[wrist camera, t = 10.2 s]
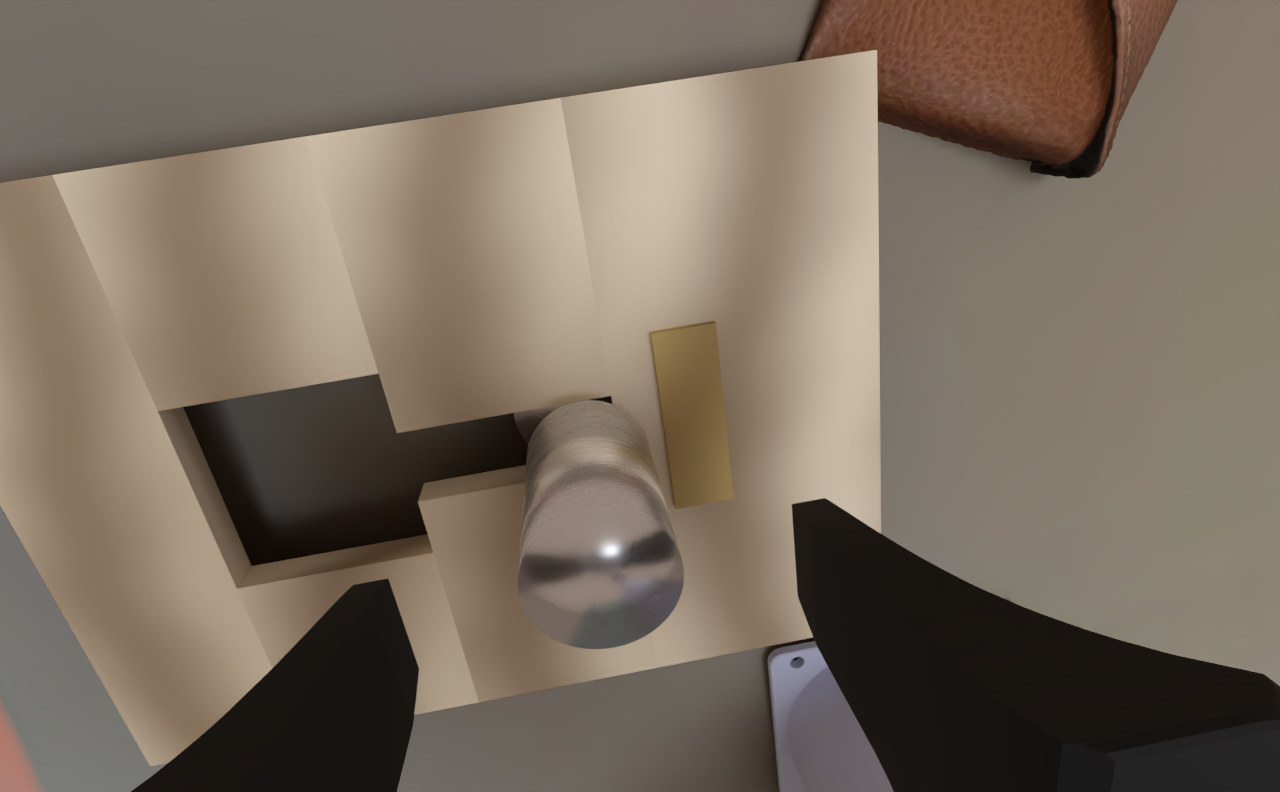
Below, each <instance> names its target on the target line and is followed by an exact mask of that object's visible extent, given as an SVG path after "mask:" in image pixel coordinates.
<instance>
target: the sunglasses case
mask: <svg viewBox="0 0 1280 792" xmlns="http://www.w3.org/2000/svg"><path fill="white" fill-rule="evenodd" d="M1176 3H1177V0H824V1H823V4H822V7H821V9H820V12H819V14H818V17H817V19H816V22H815V24H814V27H813V30H812V32H811V34H810V35H809V37H808V38H807V41H806V44H805V46H804V49H803V51H802V54H801V56H800V59H799V61H798V62H800V61H806V60H813V59H819V58H826V57H833V56H839V55H846V54H852V53H859V52H866V51H872V50H877V95H878V121H879V122H884V123H886V124H891V125H893V126H898V127H900V128H902V129H907V130H911V131H914V132H919V133H923V134H925V135H928V136H931V137H938V138H940V139H942V140H944V141H950V142H952V143H958V144H961V145H963V146H965V147H971V148H975V149H977V150H982V151H988V152H992V153H993V154H996V155H998V156H1003V157H1007V158H1012V159H1022V160H1028V161H1032V165H1031V167H1030V171H1031V172H1034V173H1041V174H1046V175H1052V176H1064V177H1066V178H1082V177H1087V178H1088V177H1091V176H1092V175H1095V174H1096V173H1097V172H1099V171H1100V170H1101V168H1102V167H1103V165H1104V162H1105V161H1106V158H1107V157H1108V156H1109V152H1110V150H1111V148H1112V144H1113V139H1114V138H1115V135H1116V130H1117V127H1118V125H1119V122H1120V120H1121V118H1122V116H1123V114H1124V111H1125V109H1126V107H1127V105H1128V103H1129V100H1130V98H1131V96H1132V94H1133V92H1134V90H1135V88H1136V86H1137V84H1138V81H1139V80H1140V78H1141V76H1142V74H1143V71H1144V69H1145V67H1146V65H1147V64H1148V62H1149V60H1150V57H1151V56H1152V54H1153V51H1154V49H1155V47H1156V44H1157V42H1158V40H1159V38H1160V36H1161V34H1162V32H1163V30H1164V28H1165V26H1166V24H1167V22H1168V20H1169V18H1170V16H1171V13H1172V11H1173V9H1174V7H1175V5H1176Z"/></svg>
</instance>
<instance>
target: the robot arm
mask: <svg viewBox="0 0 1280 792" xmlns="http://www.w3.org/2000/svg"><path fill="white" fill-rule="evenodd" d="M792 517H793V532H794V547H795V562H796V578H797V593H798V598H799V601H800V604H801V606H802V609H803V612H804V614H805V617H806V620H807V622H808V625H809V627H810V630H811V632H812V635H813V637H814V640H815V641H812V642H807V643H802V644H797V645H791V646H786V647H781V648H778V649H775V650H774V651H772V652H771V653H770V655H769V656H768V661H767V662H768V673H769V684H770V695H771V706H772V717H773V728H774V740H775V751H776V762H777V773H778V784H779V792H1280V686H1279V685H1277V684H1276V683H1275V682H1273V681H1272V680H1271V679H1269V678H1268V677H1267V676H1265V675H1264V674H1260V673H1256V672H1251V671H1246V670H1242V669H1237V668H1232V667H1227V666H1223V665H1218V664H1213V663H1209V662H1204V661H1199V660H1195V659H1190V658H1185V657H1181V656H1176V655H1172V654H1168V653H1164V652H1161V651H1157V650H1153V649H1150V648H1146V647H1142V646H1139V645H1135V644H1131V643H1128V642H1124V641H1120V640H1117V639H1114V638H1111V637H1107V636H1104V635H1101V634H1098V633H1094V632H1091V631H1088V630H1085V629H1082V628H1079V627H1076V626H1073V625H1071V624H1068V623H1065V622H1062V621H1059V620H1056V619H1054V618H1051V617H1048V616H1045V615H1042V614H1040V613H1037V612H1035V611H1032V610H1029V609H1027V608H1024V607H1022V606H1019V605H1017V604H1015V603H1012V602H1010V601H1008V600H1005V599H1003V598H1001V597H999V596H996V595H994V594H992V593H989V592H987V591H985V590H982V589H980V588H978V587H976V586H974V585H972V584H970V583H968V582H966V581H964V580H962V579H960V578H958V577H956V576H954V575H952V574H950V573H948V572H946V571H944V570H943V569H941V568H939V567H937V566H935V565H933V564H931V563H929V562H928V561H926V560H924V559H922V558H920V557H919V556H917V555H915V554H913V553H912V552H910V551H908V550H907V549H905V548H903V547H902V546H900V545H898V544H897V543H895V542H893V541H892V540H890V539H888V538H887V537H885V536H884V535H882V534H880V533H879V532H877V531H876V530H874V529H873V528H871V527H869V526H868V525H866V524H865V523H863V522H862V521H860V520H859V519H857V518H855V517H854V516H852V515H851V514H849V513H848V512H846V511H845V510H843V509H842V508H840V507H839V506H837V505H835V504H834V503H832V502H831V501H829V500H827V499H826V498H823V499H817V500H812V501H806V502H801V503H795V504H792ZM796 657H799V658H798V659H797V660H792V659H793V658H796ZM418 674H419V667H418V664H417V661H416V658H415V655H414V652H413V650H412V647H411V644H410V641H409V638H408V635H407V632H406V629H405V626H404V623H403V620H402V617H401V614H400V611H399V608H398V606H397V603H396V600H395V597H394V594H393V591H392V588H391V585H390V582H389V579H383V580H377V581H372V582H366V583H361V584H355V585H353V586H352V587H350V588H349V589H348V590H347V591H346V592H345V593H344V594H343V595H342V596H341V597H340V598H339V599H338V600H337V601H336V602H335V603H334V604H333V605H332V606H331V608H330V609H329V610H328V611H327V612H326V613H325V614H324V615H323V616H322V617H321V618H320V619H319V620H318V621H317V622H316V623H315V624H314V626H313V627H312V628H311V629H310V630H309V631H308V632H307V633H306V634H305V635H304V636H303V637H302V638H301V639H300V640H299V641H298V642H297V643H296V644H295V646H294V647H293V648H292V649H291V650H290V651H289V652H288V653H287V654H286V655H285V656H284V657H283V658H282V659H281V660H280V661H279V662H278V663H277V664H276V665H275V666H274V667H273V668H272V669H271V670H270V671H269V672H268V673H267V674H266V675H265V676H264V677H263V678H262V679H261V680H260V681H259V682H258V683H257V684H256V685H255V686H254V687H253V688H252V689H251V690H250V691H249V692H248V693H247V694H246V695H244V696H243V697H242V698H241V699H240V700H239V701H238V702H237V703H236V704H235V705H234V706H233V707H232V708H231V709H230V710H229V711H228V712H227V713H226V714H225V715H224V716H223V717H221V718H220V719H219V720H218V721H217V722H216V723H215V724H214V725H213V726H212V727H210V728H209V729H208V730H207V731H206V732H205V733H204V734H202V735H201V736H200V737H199V738H198V739H197V740H196V741H194V742H193V743H192V744H191V745H189V746H188V747H187V748H186V749H185V750H183V751H182V752H181V753H180V754H179V755H177V756H176V757H175V758H174V759H173V760H171V761H170V762H169V763H168V764H167V765H165V766H164V767H163V768H162V769H160V770H159V771H158V772H157V773H155V774H154V775H153V776H152V777H150V778H149V779H148V780H146V781H145V782H144V783H142V784H141V785H139V786H138V787H137V788H135V789H134V790H133V791H131V792H397V788H398V784H399V780H400V776H401V772H402V768H403V764H404V760H405V755H406V751H407V747H408V743H409V739H410V735H411V730H412V726H413V719H414V711H415V703H416V694H417V684H418Z"/></svg>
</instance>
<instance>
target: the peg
mask: <svg viewBox="0 0 1280 792" xmlns="http://www.w3.org/2000/svg"><path fill="white" fill-rule="evenodd" d="M514 419H515V422H516V426H517V428H518V430H519V432H520V434H521V436H522V437H523V439H524V440H525V442H526V443H527V444H528V450H527V460H526V474H525V488H524V502H523V515H522V529H521V543H520V556H519V570H518V594H519V599H520V602H521V605H522V607H523V609H524V611H525V613H526V615H527V616H528V618H529V619H530V621H531V622H532V623H533V624H534V625H535V626H536V627H537V628H538V629H539V630H540V631H542V632H543V633H544V634H545V635H547V636H549V637H550V638H552V639H554V640H556V641H558V642H561V643H563V644H566V645H569V646H573V647H578V648H583V649H607V648H614V647H618V646H623V645H626V644H629V643H632V642H634V641H636V640H639V639H641V638H643V637H644V636H646V635H648V634H649V633H651V632H652V631H654V630H655V629H656V628H658V627H659V626H660V625H661V624H662V623H663V622H664V621H665V620H666V619H667V618H668V617H669V615H670V614H671V613H672V612H673V610H674V608H675V606H676V605H677V603H678V601H679V598H680V596H681V593H682V589H683V583H684V567H683V563H682V558H681V555H680V551H679V548H678V544H677V541H676V537H675V534H674V530H673V527H672V523H671V520H670V516H669V513H668V509H667V506H666V502H665V499H664V495H663V492H662V488H661V485H660V481H659V478H658V474H657V471H656V467H655V464H654V460H653V457H652V453H651V450H650V446H649V443H648V439H647V437H646V434H645V432H644V430H643V428H642V426H641V425H640V424H639V422H638V421H637V420H636V419H635V418H634V417H633V416H632V415H631V414H629V413H628V412H627V411H625V410H624V409H622V408H620V407H618V406H616V405H613V404H612V400H611V396H608V397H602V398H596V399H590V400H585V401H578V402H573V403H567V404H562V405H556V406H550V407H544V408H539V409H533V410H527V411H521V412H516V413H514Z"/></svg>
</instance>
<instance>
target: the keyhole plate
mask: <svg viewBox="0 0 1280 792" xmlns="http://www.w3.org/2000/svg"><path fill="white" fill-rule="evenodd" d="M374 374H379V376H380V380H381V383H382V386H383V390H384V393H385V396H386V399H387V403H388V406H389V409H390V412H391V416H392V419H393V422H394V426H395V429H396V432H397V433H401V432H407V431H412V430H418V429H424V428H430V427H435V426H441V425H447V424H453V423H458V422H464V421H470V420H476V419H481V418H487V417H493V416H499V415H504V414H510V413H516V412H521V411H527V410H533V409H539V408H544V407H550V406H556V405H562V404H567V403H573V402H578V401H585V400H590V399H596V398H602V397H608V396H611V400H612V404H613V405H616V406H618V407H620V408H622V409H624V410H625V411H627V412H628V413H629V414H631V415H632V416H633V417H634V418H635V419H636V420H637V421H638V422H639V424H640V425H641V426H642V428H643V430H644V432H645V434H646V437H647V439H648V443H649V446H650V450H651V453H652V457H653V460H654V464H655V467H656V471H657V474H658V478H659V481H660V485H661V488H662V492H663V495H664V499H665V502H666V506H667V509H668V513H669V516H670V520H671V523H672V527H673V530H674V534H675V537H676V541H677V544H678V548H679V551H680V555H681V558H682V563H683V567H684V583H683V589H682V593H681V596H680V598H679V601H678V603H677V605H676V606H675V608H674V610H673V612H672V613H671V614H670V615H669V617H668V618H667V619H666V620H665V621H664V622H663V623H662V624H661V625H660V626H659V627H658V628H656V629H655V630H654V631H652V632H651V633H649V634H648V635H646V636H644V637H643V638H641V639H639V640H636V641H634V642H632V643H629V644H626V645H623V646H618V647H614V648H607V649H583V648H578V647H573V646H569V645H566V644H563V643H561V642H558V641H556V640H554V639H552V638H550V637H549V636H547V635H545V634H544V633H543V632H542V631H540V630H539V629H538V628H537V627H536V626H535V625H534V624H533V623H532V622H531V621H530V619H529V618H528V616H527V615H526V613H525V611H524V609H523V607H522V605H521V602H520V599H519V594H518V570H519V556H520V543H521V529H522V515H523V502H524V488H525V474H526V465H523V466H517V467H512V468H506V469H500V470H495V471H489V472H483V473H478V474H472V475H467V476H461V477H455V478H450V479H444V480H438V481H433V482H427V483H424V485H423V488H422V491H421V494H420V497H419V500H418V504H419V507H420V511H421V514H422V517H423V521H424V524H425V527H426V530H427V534H426V535H421V536H415V537H410V538H404V539H399V540H393V541H388V542H382V543H377V544H371V545H366V546H360V547H355V548H349V549H343V550H338V551H332V552H327V553H321V554H316V555H310V556H305V557H299V558H294V559H288V560H283V561H277V562H272V563H266V564H261V565H255V566H251V564H250V561H249V559H248V557H247V554H246V552H245V550H244V547H243V545H242V543H241V540H240V538H239V536H238V533H237V531H236V529H235V526H234V524H233V522H232V519H231V517H230V515H229V512H228V510H227V508H226V505H225V503H224V501H223V498H222V496H221V494H220V491H219V489H218V487H217V485H216V482H215V480H214V478H213V475H212V473H211V471H210V468H209V466H208V464H207V461H206V459H205V457H204V454H203V452H202V450H201V447H200V445H199V443H198V440H197V438H196V436H195V433H194V431H193V429H192V426H191V424H190V422H189V419H188V417H187V415H186V412H185V410H184V408H183V407H185V406H191V405H197V404H203V403H209V402H215V401H221V400H227V399H233V398H239V397H244V396H250V395H256V394H262V393H268V392H274V391H280V390H286V389H292V388H297V387H303V386H309V385H315V384H321V383H327V382H333V381H339V380H345V379H351V378H356V377H362V376H368V375H374ZM823 498H826V499H827V500H829V501H831V502H832V503H834V504H835V505H837V506H839V507H840V508H842V509H843V510H845V511H846V512H848V513H849V514H851V515H852V516H854V517H855V518H857V519H859V520H860V521H862V522H863V523H865V524H866V525H868V526H869V527H871V528H873V529H874V530H876V531H877V532H879V533H880V534H881V469H880V344H879V220H878V95H877V50H872V51H866V52H859V53H852V54H846V55H839V56H833V57H826V58H819V59H813V60H806V61H800V62H793V63H787V64H780V65H773V66H767V67H760V68H754V69H747V70H740V71H734V72H727V73H721V74H714V75H707V76H701V77H694V78H688V79H681V80H675V81H668V82H661V83H655V84H648V85H642V86H635V87H628V88H622V89H615V90H609V91H602V92H595V93H589V94H582V95H576V96H569V97H563V98H556V99H549V100H543V101H536V102H530V103H523V104H516V105H510V106H503V107H497V108H490V109H483V110H477V111H470V112H464V113H457V114H451V115H444V116H437V117H431V118H424V119H418V120H411V121H404V122H398V123H391V124H385V125H378V126H371V127H365V128H358V129H352V130H345V131H339V132H332V133H325V134H319V135H312V136H306V137H299V138H292V139H286V140H279V141H273V142H266V143H259V144H253V145H246V146H240V147H233V148H227V149H220V150H213V151H207V152H200V153H194V154H187V155H180V156H174V157H167V158H161V159H154V160H147V161H141V162H134V163H128V164H121V165H115V166H108V167H101V168H95V169H88V170H82V171H75V172H68V173H62V174H55V175H49V176H42V177H35V178H29V179H22V180H16V181H9V182H3V183H0V506H1V507H2V509H3V511H4V513H5V514H6V516H7V518H8V520H9V521H10V523H11V525H12V526H13V528H14V530H15V532H16V533H17V535H18V537H19V539H20V540H21V542H22V544H23V546H24V547H25V549H26V551H27V553H28V554H29V556H30V558H31V560H32V561H33V563H34V565H35V567H36V568H37V570H38V572H39V573H40V575H41V577H42V579H43V580H44V582H45V584H46V586H47V587H48V589H49V591H50V593H51V594H52V596H53V598H54V600H55V601H56V603H57V605H58V607H59V608H60V610H61V612H62V613H63V615H64V617H65V619H66V620H67V622H68V624H69V626H70V627H71V629H72V631H73V633H74V634H75V636H76V638H77V640H78V641H79V643H80V645H81V647H82V648H83V650H84V652H85V654H86V655H87V657H88V659H89V660H90V662H91V664H92V666H93V667H94V669H95V671H96V673H97V674H98V676H99V678H100V680H101V681H102V683H103V685H104V687H105V688H106V690H107V692H108V694H109V695H110V697H111V699H112V700H113V702H114V704H115V706H116V707H117V709H118V711H119V713H120V714H121V716H122V718H123V720H124V721H125V723H126V725H127V727H128V728H129V730H130V732H131V734H132V735H133V737H134V739H135V741H136V742H137V744H138V746H139V747H140V749H141V751H142V753H143V754H144V756H145V758H146V760H147V761H148V763H149V765H150V766H155V765H160V764H165V763H169V762H170V761H171V760H173V759H174V758H175V757H176V756H177V755H179V754H180V753H181V752H182V751H183V750H185V749H186V748H187V747H188V746H189V745H191V744H192V743H193V742H194V741H196V740H197V739H198V738H199V737H200V736H201V735H202V734H204V733H205V732H206V731H207V730H208V729H209V728H210V727H212V726H213V725H214V724H215V723H216V722H217V721H218V720H219V719H220V718H221V717H223V716H224V715H225V714H226V713H227V712H228V711H229V710H230V709H231V708H232V707H233V706H234V705H235V704H236V703H237V702H238V701H239V700H240V699H241V698H242V697H243V696H244V695H246V694H247V693H248V692H249V691H250V690H251V689H252V688H253V687H254V686H255V685H256V684H257V683H258V682H259V681H260V680H261V679H262V678H263V677H264V676H265V675H266V674H267V673H268V672H269V671H270V670H271V669H272V668H273V667H274V666H275V665H276V664H277V663H278V662H279V661H280V660H281V659H282V658H283V657H284V656H285V655H286V654H287V653H288V652H289V651H290V650H291V649H292V648H293V647H294V646H295V644H296V643H297V642H298V641H299V640H300V639H301V638H302V637H303V636H304V635H305V634H306V633H307V632H308V631H309V630H310V629H311V628H312V627H313V626H314V624H315V623H316V622H317V621H318V620H319V619H320V618H321V617H322V616H323V615H324V614H325V613H326V612H327V611H328V610H329V609H330V608H331V606H332V605H333V604H334V603H335V602H336V601H337V600H338V599H339V598H340V597H341V596H342V595H343V594H344V593H345V592H346V591H347V590H348V589H349V588H350V587H352V586H353V585H355V584H361V583H366V582H372V581H377V580H383V579H389V582H390V585H391V588H392V591H393V594H394V597H395V600H396V603H397V606H398V608H399V611H400V614H401V617H402V620H403V623H404V626H405V629H406V632H407V635H408V638H409V641H410V644H411V647H412V650H413V652H414V655H415V658H416V661H417V664H418V667H419V674H418V684H417V694H416V703H415V711H414V715H417V714H422V713H427V712H432V711H438V710H443V709H448V708H453V707H458V706H463V705H468V704H474V703H479V702H484V701H489V700H494V699H499V698H504V697H510V696H515V695H520V694H525V693H530V692H535V691H540V690H546V689H551V688H556V687H561V686H566V685H571V684H576V683H582V682H587V681H592V680H597V679H602V678H607V677H612V676H618V675H623V674H628V673H633V672H638V671H643V670H648V669H654V668H659V667H664V666H669V665H674V664H679V663H684V662H690V661H695V660H700V659H705V658H710V657H715V656H720V655H726V654H731V653H736V652H741V651H746V650H751V649H756V648H762V647H767V646H772V645H777V644H782V643H787V642H792V641H798V640H803V639H808V638H813V635H812V632H811V630H810V627H809V625H808V622H807V620H806V617H805V614H804V612H803V609H802V606H801V604H800V601H799V598H798V593H797V578H796V562H795V547H794V532H793V517H792V504H795V503H801V502H806V501H812V500H817V499H823Z"/></svg>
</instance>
